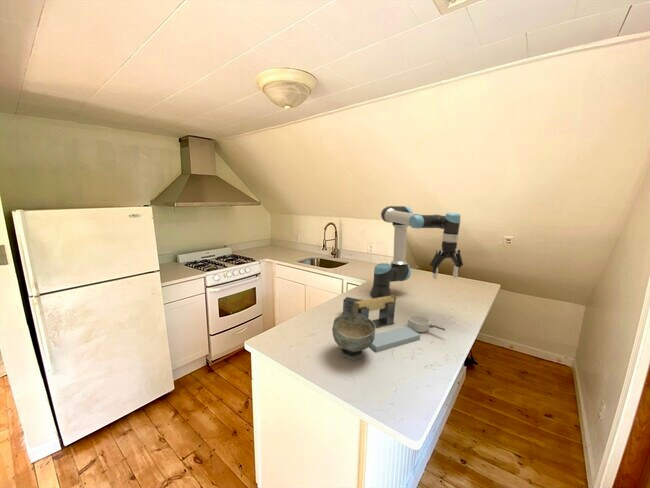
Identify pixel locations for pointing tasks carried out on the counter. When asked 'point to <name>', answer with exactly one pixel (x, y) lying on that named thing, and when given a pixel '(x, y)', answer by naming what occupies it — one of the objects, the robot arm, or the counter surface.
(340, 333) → the bowl
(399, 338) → the board
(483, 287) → the counter surface
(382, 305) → the rail
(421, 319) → the saucepan
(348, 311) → the small box
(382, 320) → the grey metal bracket
